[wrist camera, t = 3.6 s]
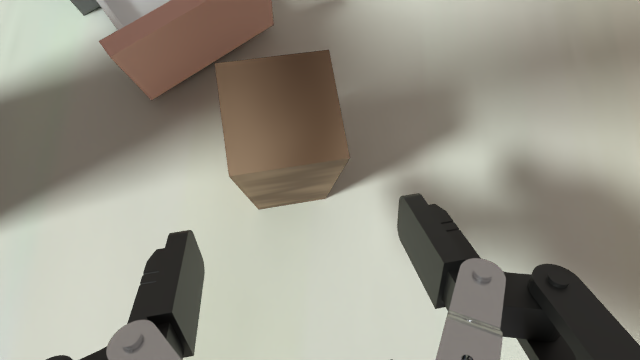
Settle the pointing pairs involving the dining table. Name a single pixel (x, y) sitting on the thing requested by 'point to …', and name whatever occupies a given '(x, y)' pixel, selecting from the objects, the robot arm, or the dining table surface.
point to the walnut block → (282, 127)
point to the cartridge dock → (85, 5)
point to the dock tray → (178, 36)
